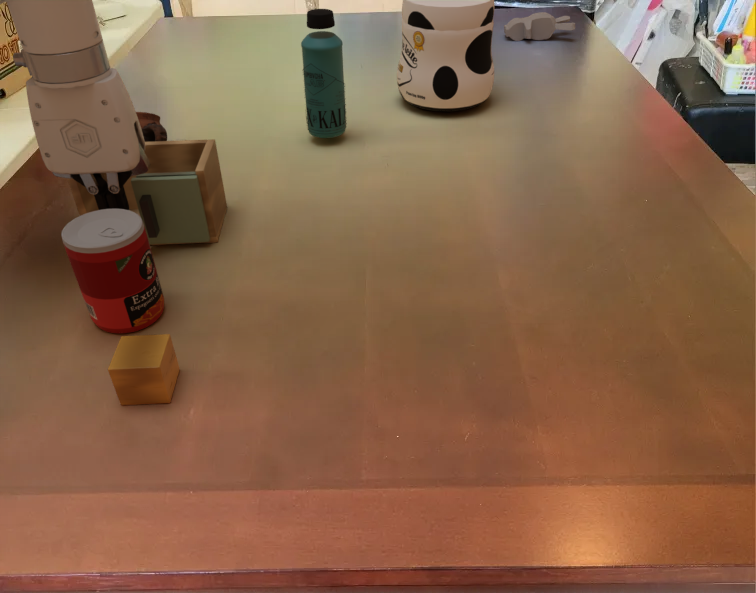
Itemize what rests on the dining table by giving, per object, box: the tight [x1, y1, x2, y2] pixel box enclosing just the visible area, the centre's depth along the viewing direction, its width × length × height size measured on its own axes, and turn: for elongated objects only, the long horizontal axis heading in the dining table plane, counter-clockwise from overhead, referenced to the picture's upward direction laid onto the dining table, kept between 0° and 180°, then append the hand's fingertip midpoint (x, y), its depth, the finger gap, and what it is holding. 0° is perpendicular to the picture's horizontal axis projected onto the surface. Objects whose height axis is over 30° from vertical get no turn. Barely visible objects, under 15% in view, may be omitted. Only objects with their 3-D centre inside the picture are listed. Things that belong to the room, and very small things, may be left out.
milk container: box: [396, 0, 495, 112], centre depth 115 cm, size 17×17×18 cm
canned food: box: [60, 209, 165, 334], centre depth 69 cm, size 8×8×11 cm
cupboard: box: [66, 139, 228, 246], centre depth 83 cm, size 16×9×10 cm, turn 93°
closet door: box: [131, 175, 210, 245], centre depth 79 cm, size 8×2×9 cm, turn 93°
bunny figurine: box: [503, 11, 576, 42], centre depth 149 cm, size 10×5×15 cm
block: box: [107, 333, 181, 406], centre depth 61 cm, size 5×5×5 cm
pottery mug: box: [136, 111, 168, 142], centre depth 103 cm, size 12×10×8 cm
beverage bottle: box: [300, 8, 348, 139], centre depth 102 cm, size 6×7×20 cm
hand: (117, 218), depth 78 cm, fingers closed
